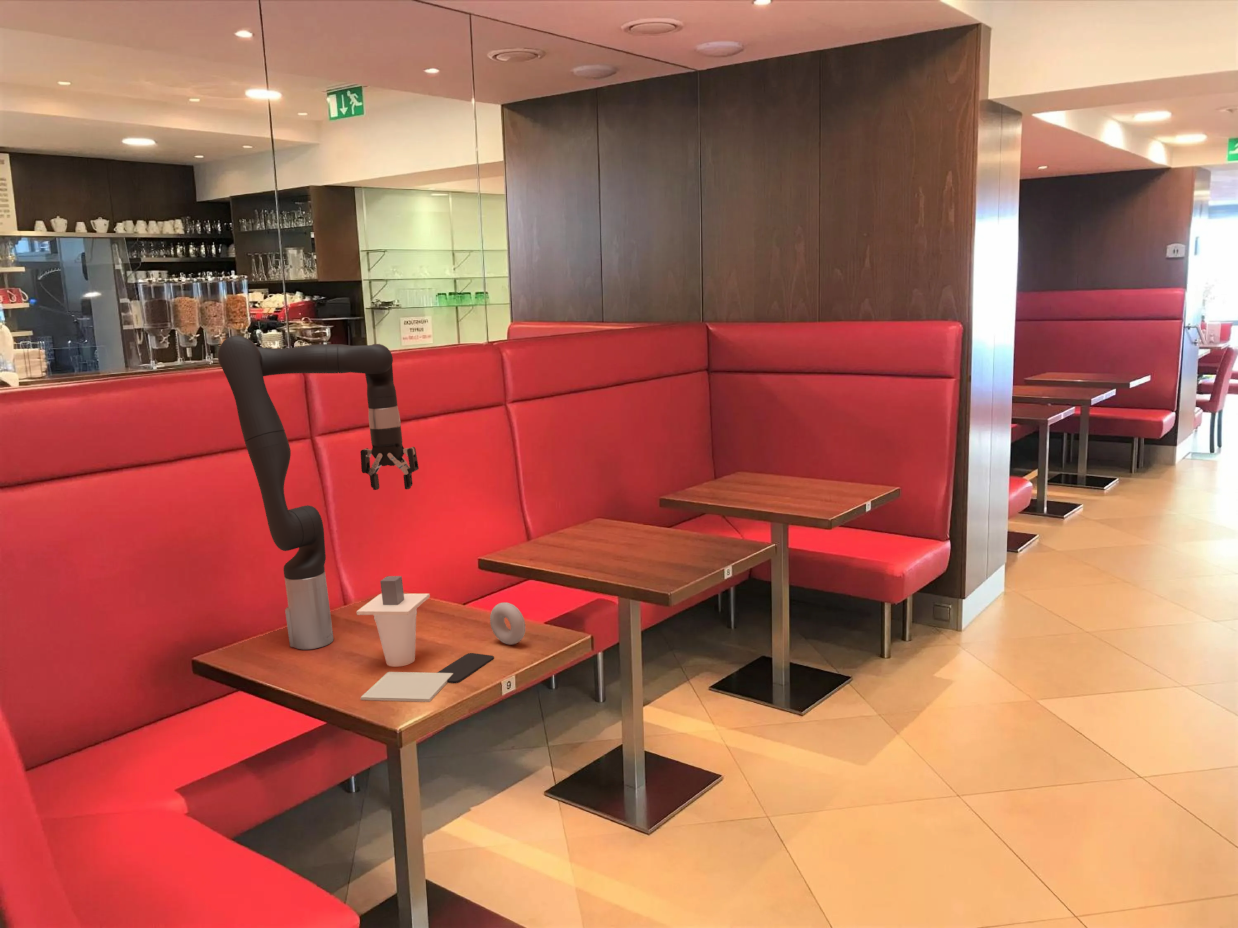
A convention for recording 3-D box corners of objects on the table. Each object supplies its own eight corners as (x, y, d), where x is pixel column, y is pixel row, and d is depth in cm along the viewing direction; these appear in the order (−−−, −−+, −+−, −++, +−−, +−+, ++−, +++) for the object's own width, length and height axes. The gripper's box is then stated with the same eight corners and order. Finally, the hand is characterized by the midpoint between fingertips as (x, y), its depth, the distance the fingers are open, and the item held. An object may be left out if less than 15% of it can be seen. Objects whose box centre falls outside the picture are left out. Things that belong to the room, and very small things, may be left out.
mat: (360, 699, 197) (360, 697, 197) (388, 674, 210) (388, 671, 210) (429, 701, 194) (429, 698, 194) (453, 675, 207) (453, 672, 207)
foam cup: (384, 672, 211) (378, 615, 209) (374, 659, 219) (368, 604, 217) (427, 662, 215) (421, 606, 213) (415, 649, 223) (409, 596, 221)
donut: (488, 642, 225) (484, 601, 223) (499, 637, 228) (495, 597, 226) (520, 650, 219) (516, 608, 217) (530, 645, 221) (526, 603, 220)
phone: (496, 655, 215) (457, 681, 202) (496, 659, 216) (457, 685, 202) (468, 652, 219) (428, 677, 205) (468, 655, 219) (428, 681, 206)
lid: (356, 614, 210) (353, 587, 209) (380, 596, 222) (377, 570, 221) (408, 615, 208) (405, 586, 207) (429, 596, 220) (427, 570, 218)
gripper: (351, 428, 238) (359, 493, 240) (405, 426, 235) (412, 491, 237) (365, 423, 245) (372, 486, 248) (418, 421, 242) (424, 485, 245)
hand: (392, 489), depth 243 cm, fingers open, 8 cm apart
